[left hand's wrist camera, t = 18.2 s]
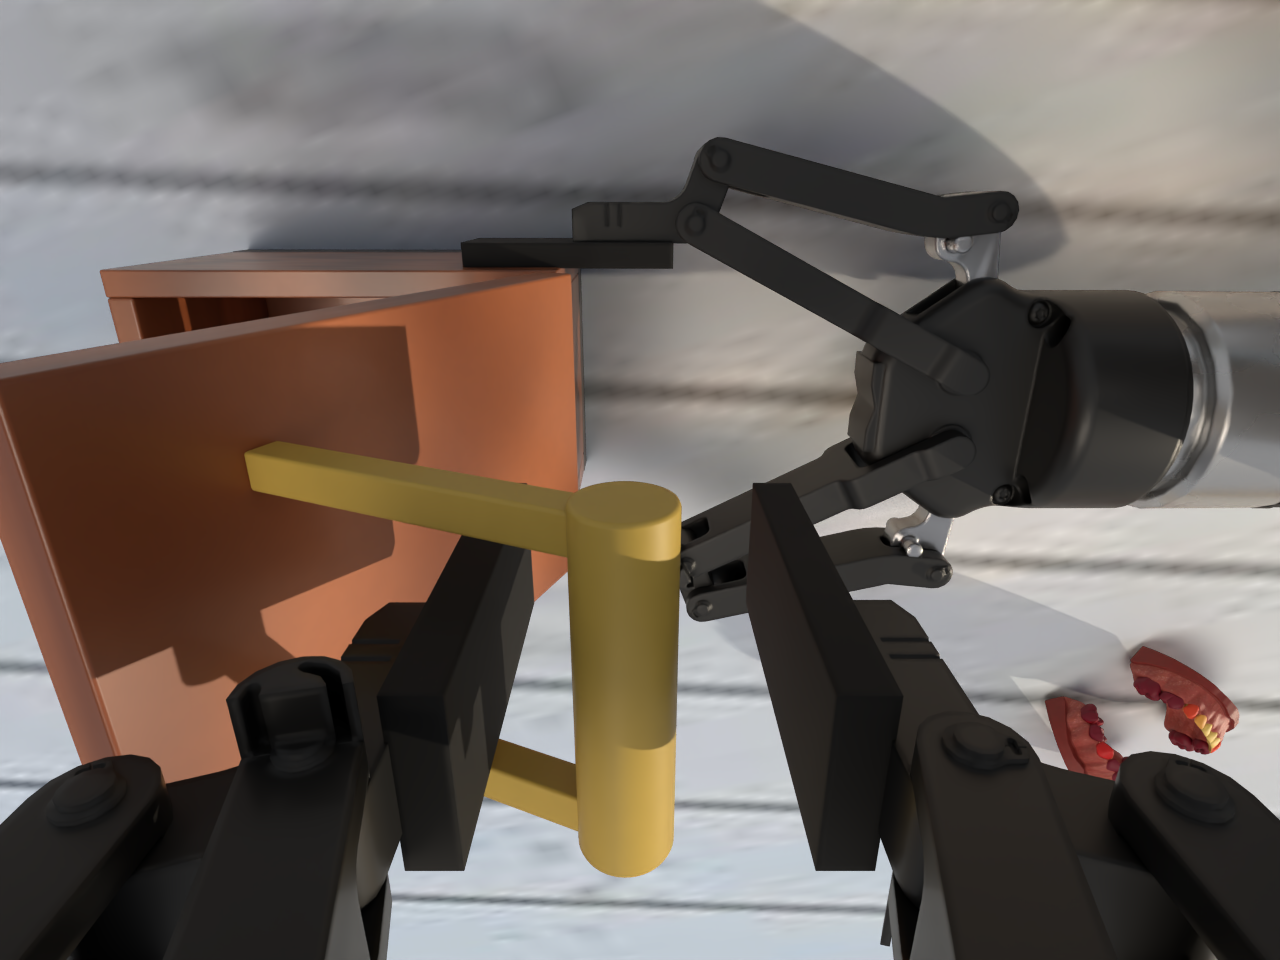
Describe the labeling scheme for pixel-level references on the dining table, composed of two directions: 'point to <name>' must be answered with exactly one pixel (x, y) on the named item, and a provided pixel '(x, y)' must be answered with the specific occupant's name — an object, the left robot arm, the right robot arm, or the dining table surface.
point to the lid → (337, 529)
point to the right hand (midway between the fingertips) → (483, 400)
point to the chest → (300, 292)
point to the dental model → (1189, 697)
